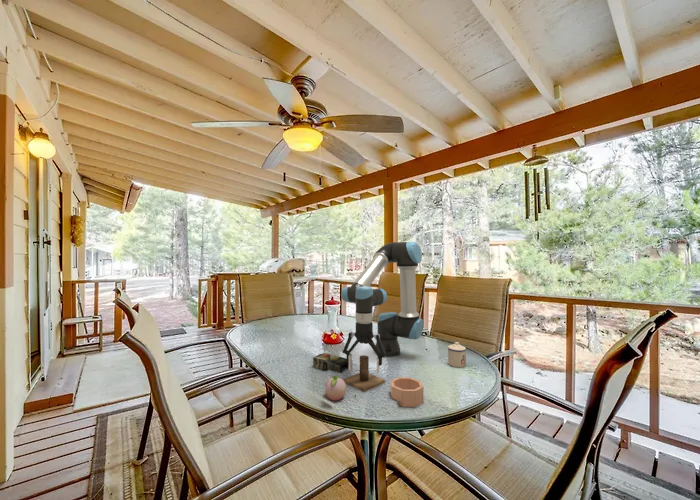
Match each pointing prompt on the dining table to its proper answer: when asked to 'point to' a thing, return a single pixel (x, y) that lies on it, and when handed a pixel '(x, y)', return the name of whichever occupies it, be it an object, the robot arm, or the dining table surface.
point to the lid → (364, 377)
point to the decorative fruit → (335, 388)
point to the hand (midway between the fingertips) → (364, 371)
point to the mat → (367, 390)
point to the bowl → (407, 391)
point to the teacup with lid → (456, 355)
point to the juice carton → (329, 362)
